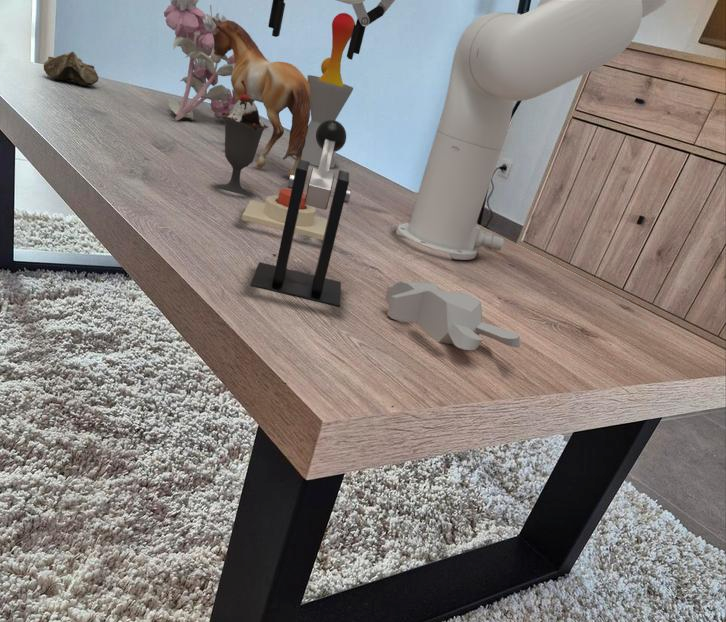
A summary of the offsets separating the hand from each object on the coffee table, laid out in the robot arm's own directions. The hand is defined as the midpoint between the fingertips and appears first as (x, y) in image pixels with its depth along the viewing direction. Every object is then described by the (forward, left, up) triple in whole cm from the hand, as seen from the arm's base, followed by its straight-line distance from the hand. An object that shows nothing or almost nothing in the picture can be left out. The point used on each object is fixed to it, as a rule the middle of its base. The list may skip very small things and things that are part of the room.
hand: (312, 47), depth 86 cm
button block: (-2, +8, -22) cm, 23 cm away
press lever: (-5, +25, -10) cm, 27 cm away
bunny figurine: (-20, +33, -22) cm, 44 cm away
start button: (-2, +8, -19) cm, 20 cm away
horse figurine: (+9, -27, -22) cm, 36 cm away
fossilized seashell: (+50, -60, -22) cm, 81 cm away
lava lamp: (-3, -45, -22) cm, 50 cm away
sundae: (+7, -5, -22) cm, 24 cm away
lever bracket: (-5, +30, -22) cm, 37 cm away
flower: (+21, -59, -22) cm, 66 cm away
